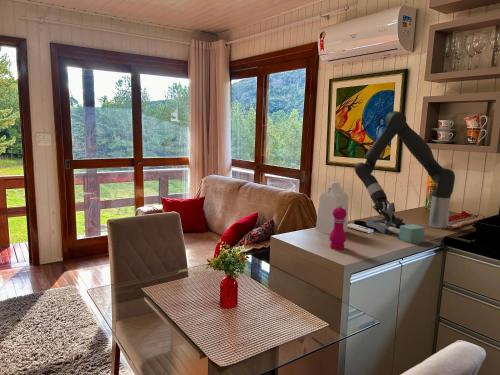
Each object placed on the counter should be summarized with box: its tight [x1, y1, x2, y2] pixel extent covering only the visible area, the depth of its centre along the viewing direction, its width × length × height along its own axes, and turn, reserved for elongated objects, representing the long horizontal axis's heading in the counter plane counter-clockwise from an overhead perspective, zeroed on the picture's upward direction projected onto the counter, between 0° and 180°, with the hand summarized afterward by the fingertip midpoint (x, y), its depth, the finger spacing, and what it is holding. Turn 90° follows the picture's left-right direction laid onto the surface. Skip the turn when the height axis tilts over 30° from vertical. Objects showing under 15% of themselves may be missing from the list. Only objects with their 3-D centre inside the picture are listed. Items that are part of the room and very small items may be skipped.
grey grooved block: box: [365, 216, 396, 235], centre depth 197 cm, size 8×13×5 cm, turn 26°
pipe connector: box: [378, 216, 406, 229], centre depth 203 cm, size 12×5×15 cm
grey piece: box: [378, 204, 400, 235], centre depth 190 cm, size 3×18×14 cm, turn 26°
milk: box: [315, 181, 349, 235], centre depth 190 cm, size 12×12×26 cm
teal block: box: [398, 223, 426, 244], centre depth 179 cm, size 9×7×7 cm
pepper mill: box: [329, 204, 347, 251], centre depth 164 cm, size 7×7×20 cm
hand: (391, 220), depth 190 cm, fingers closed on grey piece, 3 cm apart
